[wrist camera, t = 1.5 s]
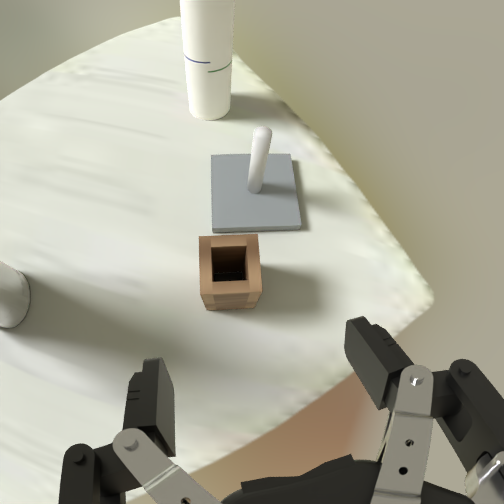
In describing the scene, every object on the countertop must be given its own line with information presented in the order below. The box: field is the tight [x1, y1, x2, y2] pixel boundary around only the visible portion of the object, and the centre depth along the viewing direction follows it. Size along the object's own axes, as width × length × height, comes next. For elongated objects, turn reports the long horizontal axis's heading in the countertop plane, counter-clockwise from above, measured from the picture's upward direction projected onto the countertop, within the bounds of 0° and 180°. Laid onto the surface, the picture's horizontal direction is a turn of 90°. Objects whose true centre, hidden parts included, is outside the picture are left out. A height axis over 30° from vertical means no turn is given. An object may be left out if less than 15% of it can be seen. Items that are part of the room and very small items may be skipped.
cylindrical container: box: [180, 0, 235, 121], centre depth 39 cm, size 7×7×25 cm
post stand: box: [211, 126, 301, 233], centre depth 39 cm, size 12×12×14 cm
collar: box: [199, 234, 262, 310], centre depth 36 cm, size 6×6×10 cm
